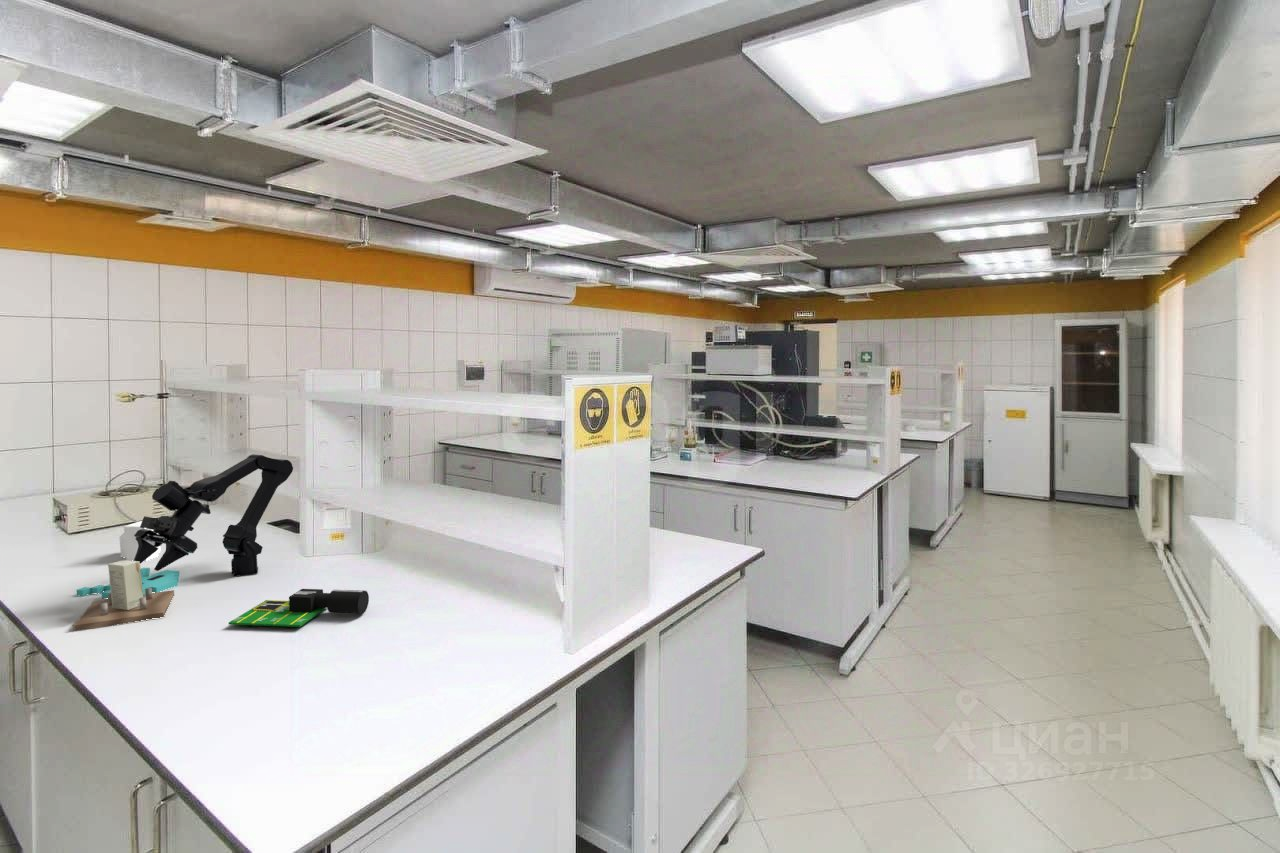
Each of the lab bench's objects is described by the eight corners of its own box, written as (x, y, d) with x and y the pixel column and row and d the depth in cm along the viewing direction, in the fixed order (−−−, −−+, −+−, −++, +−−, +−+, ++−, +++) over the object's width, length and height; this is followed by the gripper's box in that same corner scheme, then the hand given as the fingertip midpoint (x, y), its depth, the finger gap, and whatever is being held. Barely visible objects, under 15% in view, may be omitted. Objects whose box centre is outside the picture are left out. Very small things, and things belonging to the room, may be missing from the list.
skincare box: (144, 605, 171) (141, 561, 169) (127, 611, 167) (123, 566, 165) (128, 601, 173) (125, 558, 171) (110, 607, 169) (107, 563, 167)
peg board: (174, 595, 182) (173, 580, 181) (163, 617, 166) (162, 601, 166) (93, 606, 173) (92, 590, 173) (74, 631, 158) (73, 613, 157)
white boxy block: (146, 561, 211) (143, 526, 210) (112, 561, 211) (110, 526, 210) (170, 552, 222) (168, 518, 220) (138, 551, 222) (136, 518, 220)
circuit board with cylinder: (227, 603, 160) (265, 582, 175) (228, 629, 160) (266, 606, 175) (342, 606, 158) (370, 585, 173) (343, 632, 159) (371, 609, 174)
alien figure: (77, 597, 181) (134, 603, 177) (76, 589, 180) (133, 595, 177) (144, 574, 200) (197, 579, 196) (143, 567, 200) (196, 572, 196)
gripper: (138, 501, 179) (97, 549, 170) (183, 507, 173) (142, 558, 164) (169, 521, 188) (132, 568, 179) (213, 528, 181) (176, 577, 172)
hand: (144, 568), depth 173 cm, fingers open, 9 cm apart
